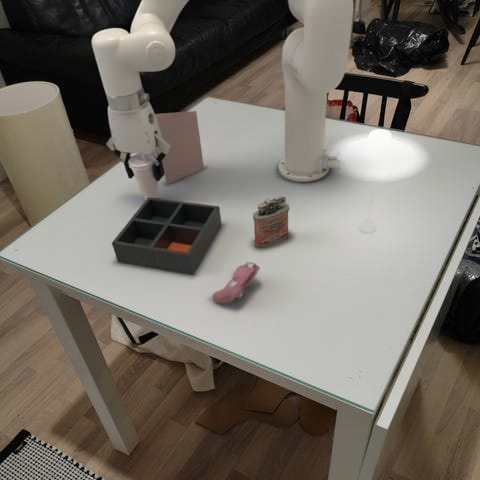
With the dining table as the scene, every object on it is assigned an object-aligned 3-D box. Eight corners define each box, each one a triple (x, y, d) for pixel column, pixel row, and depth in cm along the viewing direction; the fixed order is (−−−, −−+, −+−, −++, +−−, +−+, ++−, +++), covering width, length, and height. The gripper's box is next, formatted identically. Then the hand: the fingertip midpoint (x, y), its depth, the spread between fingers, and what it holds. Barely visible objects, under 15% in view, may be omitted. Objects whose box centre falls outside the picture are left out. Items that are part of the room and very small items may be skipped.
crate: (221, 225, 108) (219, 206, 104) (193, 275, 97) (189, 255, 93) (152, 216, 112) (148, 197, 109) (117, 262, 101) (111, 242, 98)
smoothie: (159, 204, 113) (146, 148, 103) (134, 203, 114) (118, 148, 104) (168, 189, 117) (155, 134, 107) (143, 188, 118) (128, 133, 108)
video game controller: (228, 314, 91) (239, 296, 85) (209, 299, 91) (219, 280, 85) (254, 283, 96) (267, 264, 90) (237, 269, 96) (248, 249, 90)
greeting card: (204, 166, 126) (196, 109, 116) (203, 181, 121) (195, 123, 111) (160, 169, 127) (149, 113, 116) (158, 184, 122) (146, 126, 111)
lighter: (259, 250, 101) (257, 210, 93) (251, 242, 103) (249, 202, 96) (292, 238, 103) (292, 197, 96) (283, 230, 105) (283, 189, 98)
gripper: (171, 92, 99) (186, 171, 112) (98, 89, 104) (121, 165, 117) (156, 108, 94) (173, 189, 107) (80, 104, 99) (106, 182, 112)
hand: (146, 176), depth 112 cm, fingers closed on smoothie, 6 cm apart
